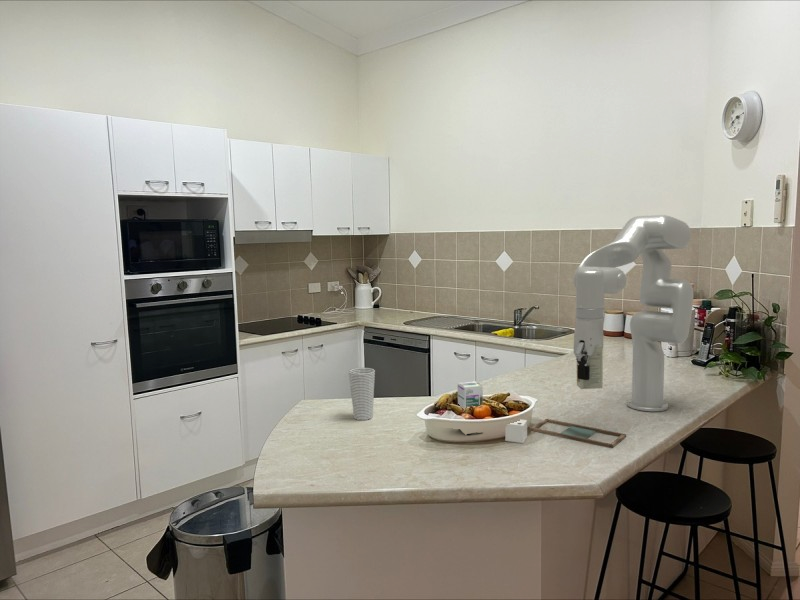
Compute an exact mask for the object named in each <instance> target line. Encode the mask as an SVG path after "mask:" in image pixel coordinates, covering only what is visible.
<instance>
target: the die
mask: <svg viewBox="0 0 800 600" xmlns="http://www.w3.org/2000/svg"><path fill="white" fill-rule="evenodd" d="M504 430H505V439H504V441H505V442H510V443H517V444H518V443H519V444H524V442H526V440H527V438H528V420H527V419H520V421H517V422H514V423H510V424H507V426H506V427H504Z"/></svg>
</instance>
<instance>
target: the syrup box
mask: <svg viewBox="0 0 800 600" xmlns="http://www.w3.org/2000/svg"><path fill="white" fill-rule="evenodd" d="M456 384H457V385H456V386H457V405H458V404H459V405H460V406H461V407H462V408H463V409H465V408H467V407H470V406H479V405H481V404H483V405H484V403H483V402H484V401H483V395H484V394H483V392H484V391H483V385H482V384H481V383H480V382H478V381H475V380H474V381H473V380H472V381H467V382H457V383H456Z"/></svg>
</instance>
